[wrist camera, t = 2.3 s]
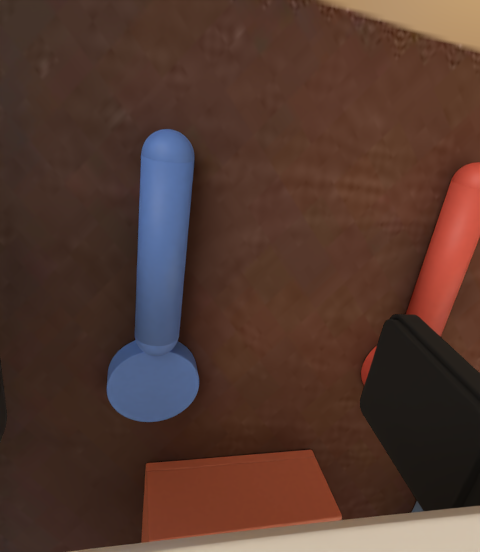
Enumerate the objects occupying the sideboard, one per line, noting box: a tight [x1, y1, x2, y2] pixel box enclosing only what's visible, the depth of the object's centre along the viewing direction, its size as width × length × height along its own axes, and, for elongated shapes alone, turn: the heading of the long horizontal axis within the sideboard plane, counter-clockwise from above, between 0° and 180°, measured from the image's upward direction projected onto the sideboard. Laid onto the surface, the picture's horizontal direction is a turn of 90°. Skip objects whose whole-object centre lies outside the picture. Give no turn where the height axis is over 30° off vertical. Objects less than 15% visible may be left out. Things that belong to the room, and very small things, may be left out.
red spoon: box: [361, 162, 480, 385], centre depth 23 cm, size 14×4×2 cm, turn 172°
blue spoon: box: [107, 129, 199, 422], centre depth 19 cm, size 14×4×2 cm, turn 172°
